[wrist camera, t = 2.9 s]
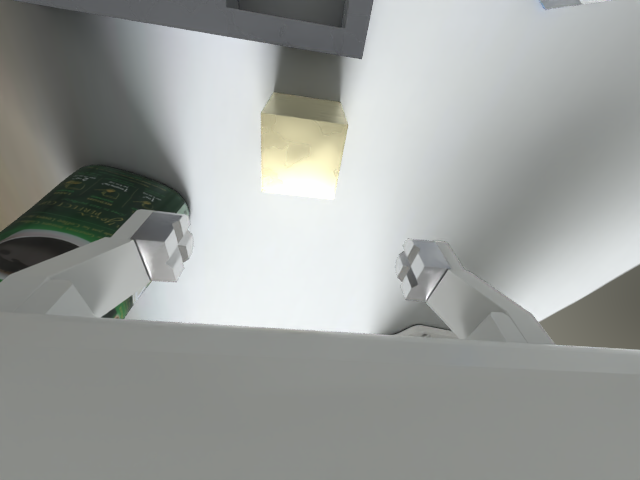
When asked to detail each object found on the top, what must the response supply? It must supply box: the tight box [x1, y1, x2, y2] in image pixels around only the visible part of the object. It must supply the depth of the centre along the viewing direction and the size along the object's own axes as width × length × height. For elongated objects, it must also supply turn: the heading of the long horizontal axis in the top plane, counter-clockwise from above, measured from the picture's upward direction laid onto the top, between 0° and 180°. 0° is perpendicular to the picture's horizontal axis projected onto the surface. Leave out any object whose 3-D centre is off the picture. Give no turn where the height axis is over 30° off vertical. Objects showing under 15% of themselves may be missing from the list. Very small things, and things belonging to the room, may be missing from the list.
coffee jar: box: [0, 165, 189, 319], centre depth 18 cm, size 10×8×19 cm
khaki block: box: [261, 92, 348, 199], centre depth 19 cm, size 5×5×6 cm
